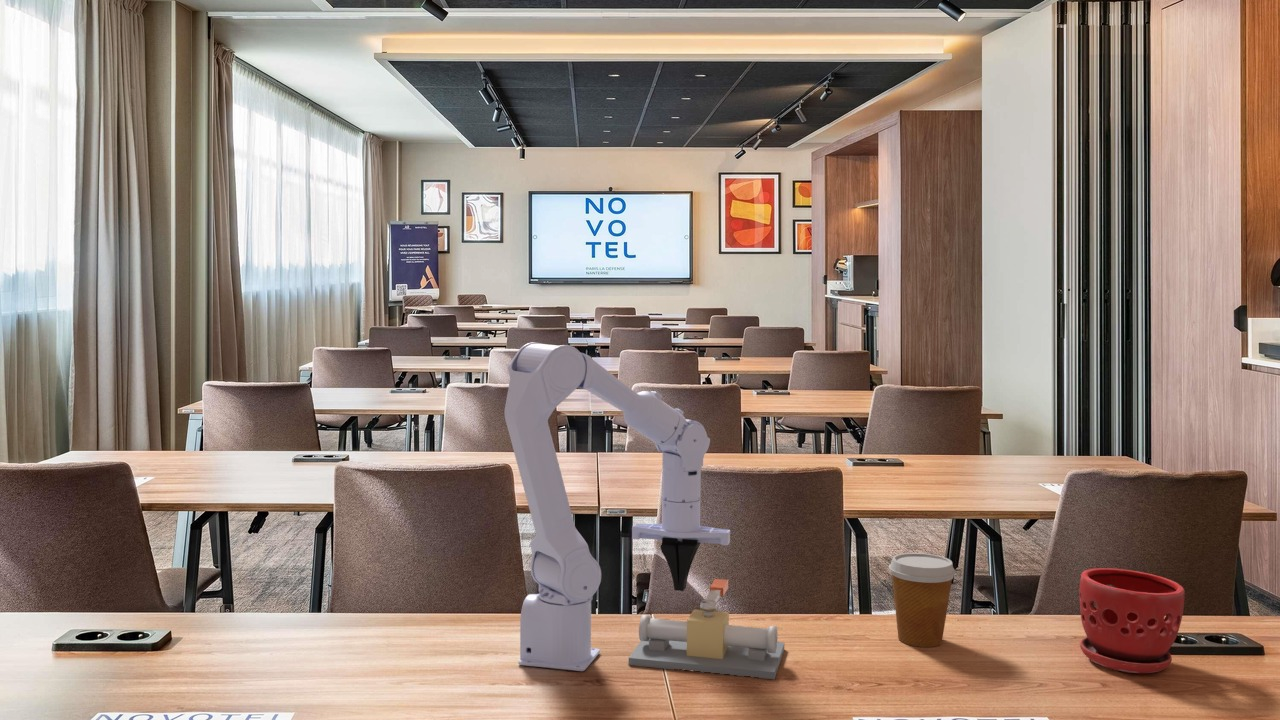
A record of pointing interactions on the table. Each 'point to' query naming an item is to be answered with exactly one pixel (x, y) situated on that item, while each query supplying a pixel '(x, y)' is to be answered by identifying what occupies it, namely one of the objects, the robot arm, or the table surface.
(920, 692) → the table surface
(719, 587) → the valve lever
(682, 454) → the robot arm
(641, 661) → the valve board
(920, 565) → the disposable coffee cup
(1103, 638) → the plant pot
